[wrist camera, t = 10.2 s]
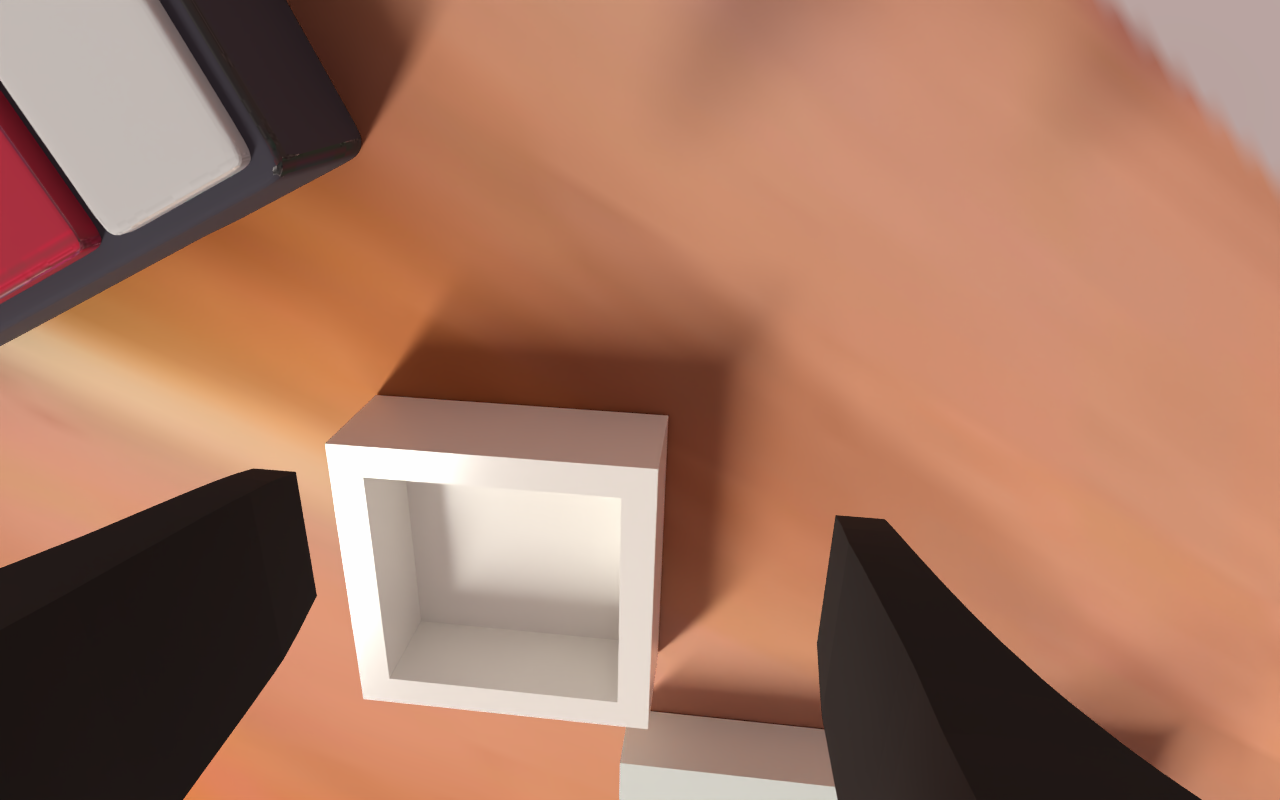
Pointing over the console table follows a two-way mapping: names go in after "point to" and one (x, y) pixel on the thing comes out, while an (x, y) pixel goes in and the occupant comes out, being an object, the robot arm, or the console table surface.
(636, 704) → the white square open box
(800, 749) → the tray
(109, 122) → the calculator
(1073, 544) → the console table surface
